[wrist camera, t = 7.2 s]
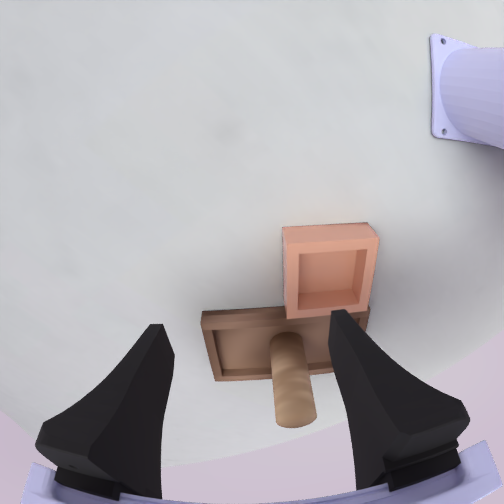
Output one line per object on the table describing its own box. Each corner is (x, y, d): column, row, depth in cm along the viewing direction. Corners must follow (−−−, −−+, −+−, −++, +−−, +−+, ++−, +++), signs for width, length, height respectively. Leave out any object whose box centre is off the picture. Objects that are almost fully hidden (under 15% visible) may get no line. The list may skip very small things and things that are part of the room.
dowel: (302, 329, 26) (317, 406, 19) (302, 351, 27) (316, 424, 20) (267, 333, 26) (274, 411, 19) (270, 355, 27) (277, 429, 20)
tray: (365, 298, 25) (370, 309, 24) (352, 358, 29) (355, 368, 28) (202, 311, 25) (200, 323, 24) (216, 369, 29) (215, 381, 28)
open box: (367, 222, 21) (379, 237, 19) (357, 291, 25) (366, 310, 22) (282, 227, 22) (286, 243, 19) (283, 298, 25) (286, 319, 23)
